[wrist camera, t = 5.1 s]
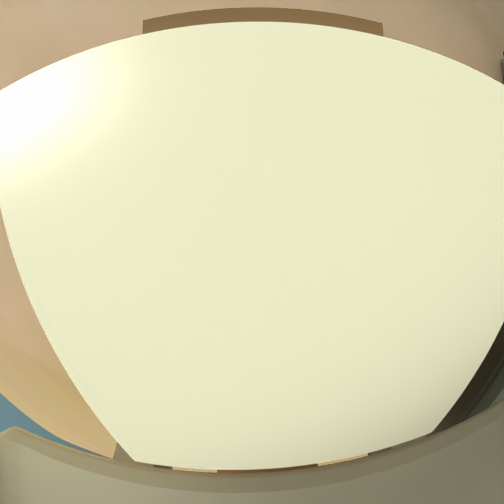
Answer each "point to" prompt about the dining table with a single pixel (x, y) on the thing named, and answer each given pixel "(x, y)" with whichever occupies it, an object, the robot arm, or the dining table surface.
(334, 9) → the dining table surface
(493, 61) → the dining table surface
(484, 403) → the dock
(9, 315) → the dining table surface
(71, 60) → the block
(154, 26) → the tan wooden bar
